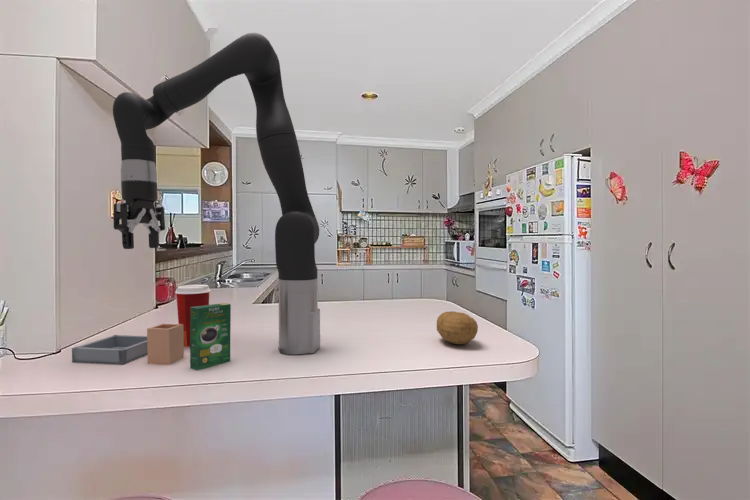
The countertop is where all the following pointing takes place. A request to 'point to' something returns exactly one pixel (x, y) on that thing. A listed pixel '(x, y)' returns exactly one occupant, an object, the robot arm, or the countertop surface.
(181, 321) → the coffee cup
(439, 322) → the potato
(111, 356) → the tray
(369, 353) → the countertop surface
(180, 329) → the light brown open box
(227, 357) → the coffee box
